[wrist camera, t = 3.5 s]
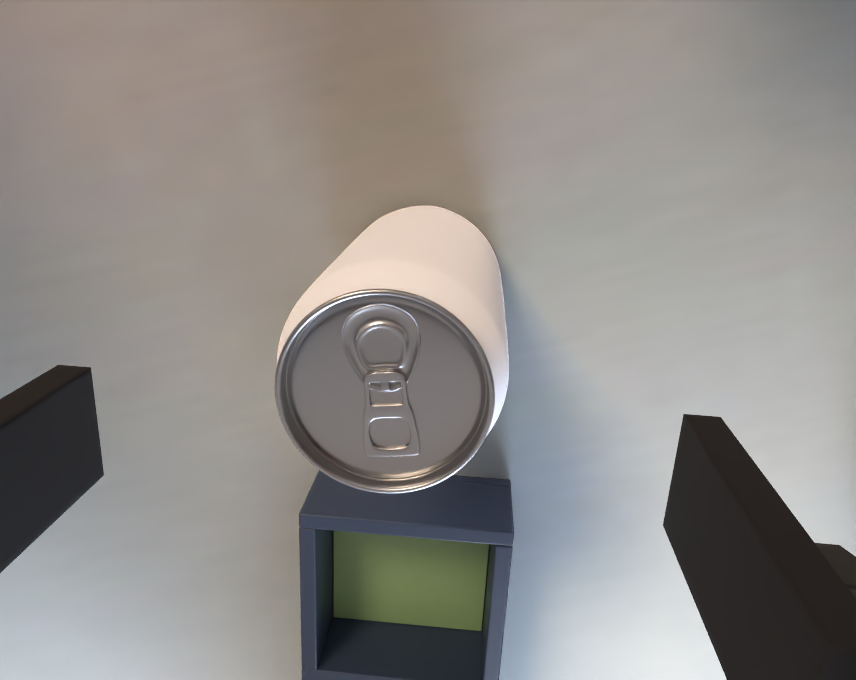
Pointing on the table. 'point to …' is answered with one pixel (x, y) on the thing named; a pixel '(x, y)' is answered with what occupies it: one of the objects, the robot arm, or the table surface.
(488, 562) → the tray
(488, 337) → the can
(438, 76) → the table surface
